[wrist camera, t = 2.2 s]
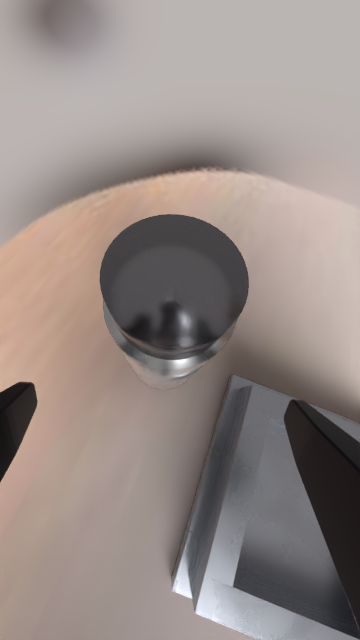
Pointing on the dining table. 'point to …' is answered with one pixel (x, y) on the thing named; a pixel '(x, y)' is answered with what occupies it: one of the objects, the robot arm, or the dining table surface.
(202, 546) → the grey tray with handle
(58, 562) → the dining table surface
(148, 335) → the steel vacuum flask
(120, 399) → the dining table surface
